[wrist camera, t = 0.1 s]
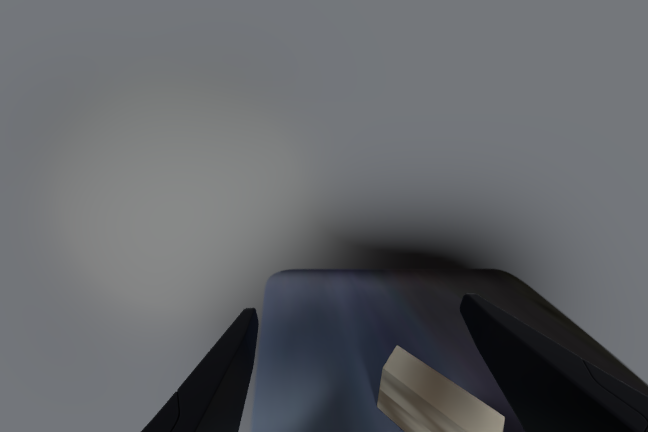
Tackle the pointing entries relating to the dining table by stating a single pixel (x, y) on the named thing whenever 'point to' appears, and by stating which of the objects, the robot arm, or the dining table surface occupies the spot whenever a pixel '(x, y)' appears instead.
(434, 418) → the birch slotted board
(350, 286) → the dining table surface
